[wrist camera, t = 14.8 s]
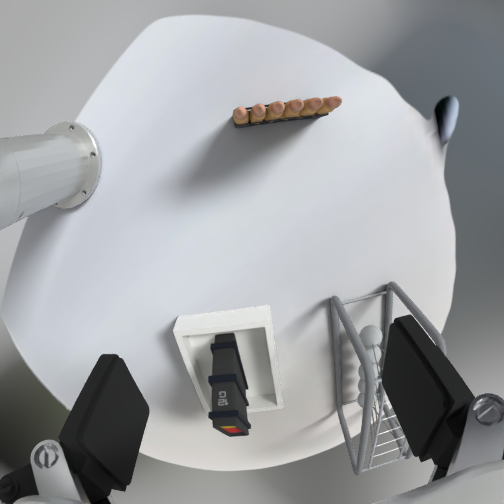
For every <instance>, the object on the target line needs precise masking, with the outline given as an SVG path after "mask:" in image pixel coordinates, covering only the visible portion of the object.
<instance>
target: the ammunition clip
mask: <svg viewBox="0 0 504 504" xmlns="http://www.w3.org/2000/svg"><path fill="white" fill-rule="evenodd" d="M341 103H342V99H341V98H340V97H337V96H334V97H329V98H323V99H321V98H312V99H307V100H305V101H302V100H300V99H295V100H291V101H289V102H287V103H283V102H281V101H277V102H274V103H271V104H270V105H263V104H257V105H255V106H253V107H249V108H243V107H237V108H236V109H235V110H234V111H233V118H234V123H235V128H242V127H248V126H255V125H261V124H268V123H276V122H283V121H292V120H301V119H311V118H320V117H323V116H326V115H328V113H329V112H331V111H333V110H334V109H335V108H337V107H339V106H340V105H341ZM265 107H268V108H265ZM249 109H251V110H250V111H247V110H249Z"/></svg>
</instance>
